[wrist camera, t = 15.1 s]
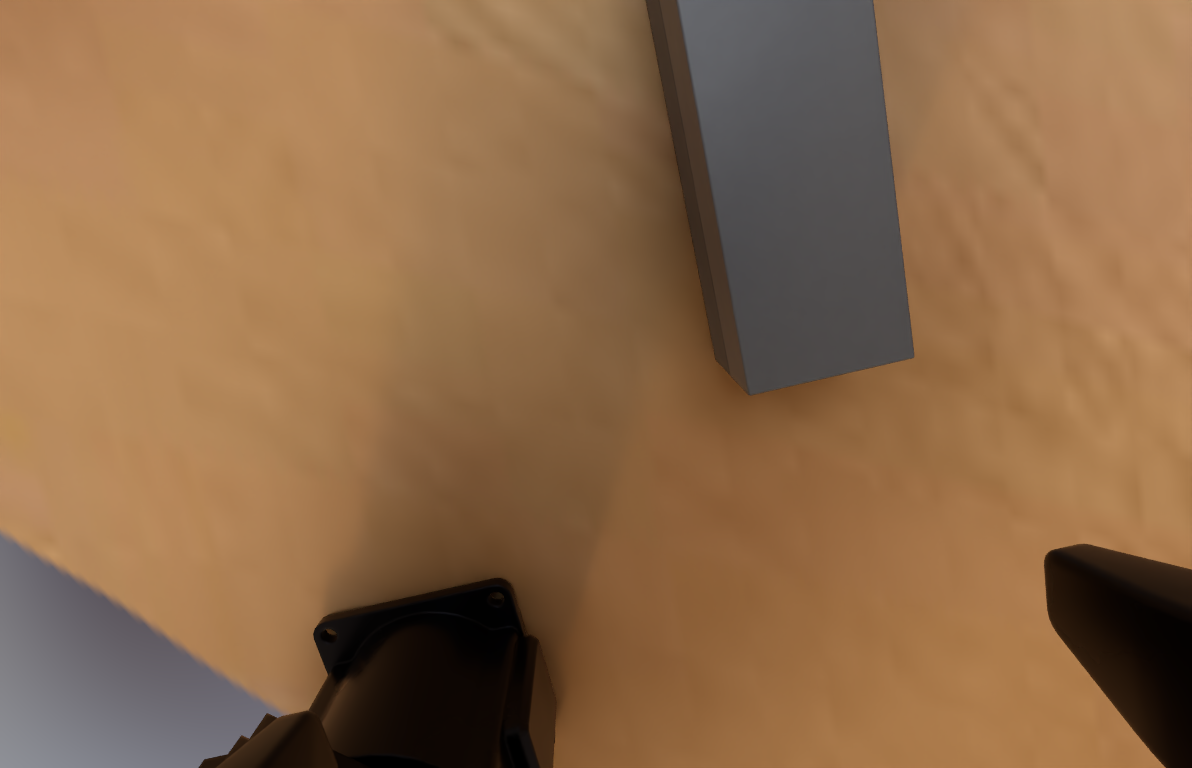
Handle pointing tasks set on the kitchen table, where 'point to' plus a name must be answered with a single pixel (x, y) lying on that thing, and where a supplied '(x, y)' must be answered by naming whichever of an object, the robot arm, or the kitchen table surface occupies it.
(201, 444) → the kitchen table surface
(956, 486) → the kitchen table surface
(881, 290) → the dark grey block
